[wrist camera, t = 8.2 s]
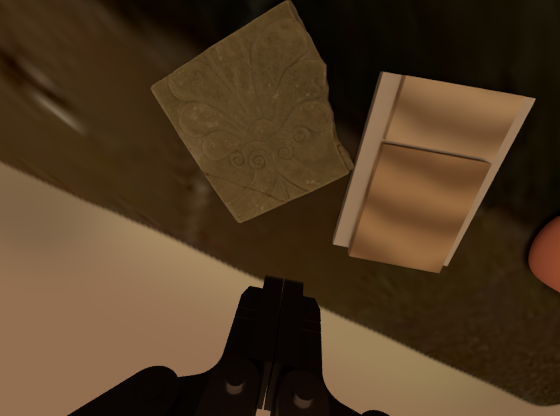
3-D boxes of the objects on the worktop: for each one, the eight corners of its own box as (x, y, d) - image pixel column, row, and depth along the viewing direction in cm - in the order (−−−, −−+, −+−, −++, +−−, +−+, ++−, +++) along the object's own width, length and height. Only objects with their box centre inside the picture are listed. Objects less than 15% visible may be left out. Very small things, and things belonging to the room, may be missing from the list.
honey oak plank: (381, 141, 33) (384, 144, 32) (484, 160, 33) (491, 163, 31) (347, 249, 39) (349, 256, 38) (434, 266, 39) (439, 273, 38)
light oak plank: (402, 75, 30) (406, 75, 29) (516, 95, 30) (526, 96, 28) (382, 137, 33) (385, 140, 32) (486, 156, 33) (493, 160, 31)
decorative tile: (241, 217, 42) (235, 229, 39) (158, 84, 35) (143, 86, 32) (365, 163, 36) (370, 172, 33) (295, -6, 29) (293, -15, 26)
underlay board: (380, 71, 31) (383, 71, 30) (526, 97, 31) (535, 98, 30) (332, 238, 41) (333, 244, 40) (442, 259, 41) (447, 265, 39)
